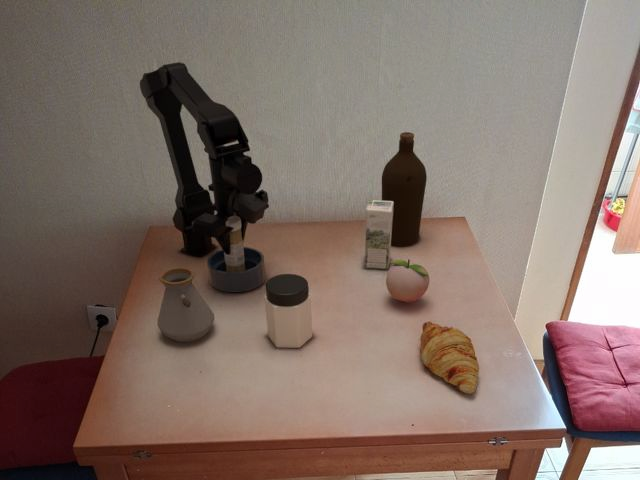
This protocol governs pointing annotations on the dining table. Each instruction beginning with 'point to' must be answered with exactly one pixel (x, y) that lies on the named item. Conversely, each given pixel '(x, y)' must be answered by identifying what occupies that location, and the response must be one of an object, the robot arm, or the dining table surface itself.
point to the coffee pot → (183, 307)
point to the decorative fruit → (407, 280)
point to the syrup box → (378, 234)
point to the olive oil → (405, 191)
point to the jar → (288, 310)
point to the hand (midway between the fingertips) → (234, 249)
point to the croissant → (450, 356)
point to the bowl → (237, 280)
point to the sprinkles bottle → (235, 247)
